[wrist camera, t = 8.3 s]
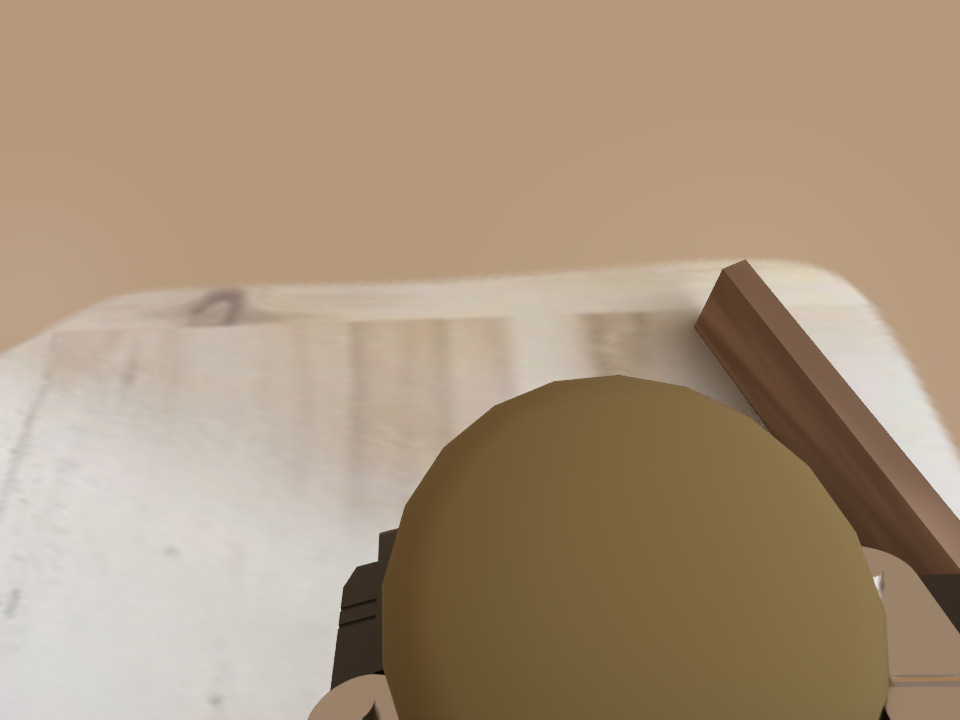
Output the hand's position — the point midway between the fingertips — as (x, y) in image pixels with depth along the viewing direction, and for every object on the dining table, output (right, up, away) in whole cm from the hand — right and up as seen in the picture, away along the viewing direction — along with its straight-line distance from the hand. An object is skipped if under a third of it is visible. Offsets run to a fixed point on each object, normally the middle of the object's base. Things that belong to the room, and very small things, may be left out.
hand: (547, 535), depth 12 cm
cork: (+1, -4, +3) cm, 5 cm away
